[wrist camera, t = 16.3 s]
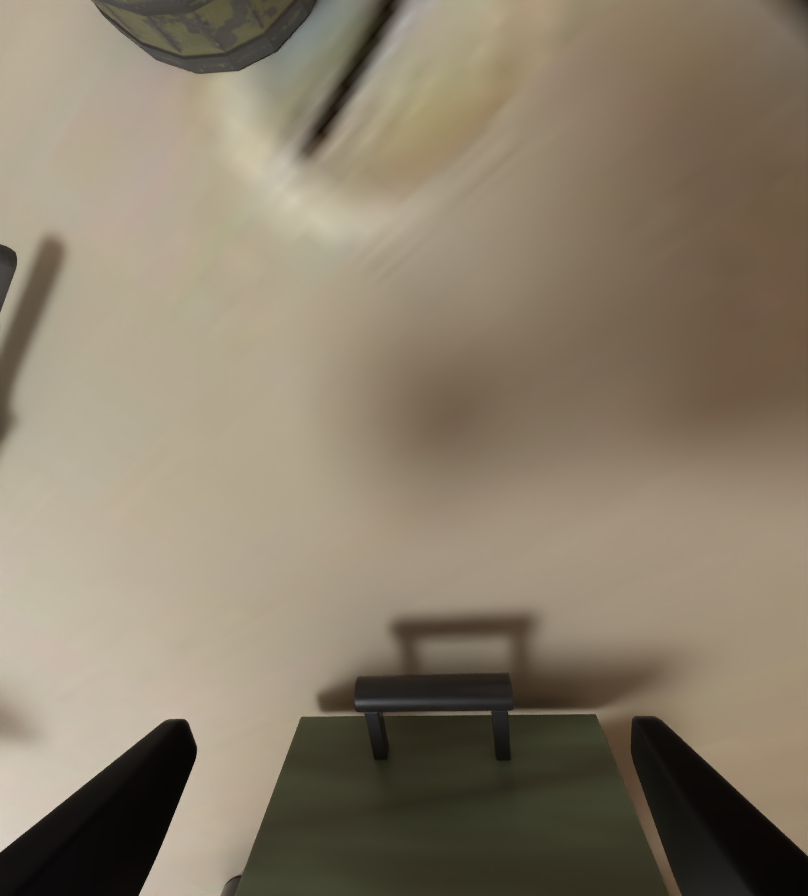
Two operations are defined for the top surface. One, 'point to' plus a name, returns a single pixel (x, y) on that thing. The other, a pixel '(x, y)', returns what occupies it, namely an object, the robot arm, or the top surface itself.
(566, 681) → the top surface
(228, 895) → the cup
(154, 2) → the thermos
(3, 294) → the walkie-talkie
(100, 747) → the top surface
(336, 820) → the drawer
